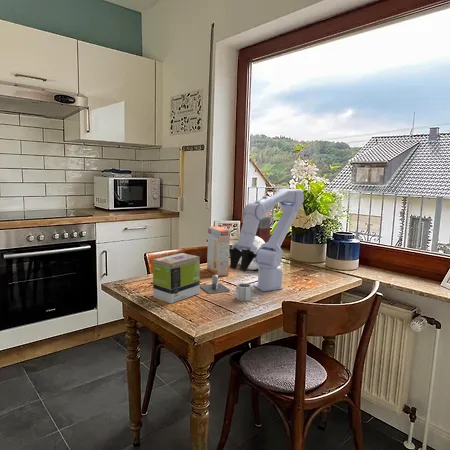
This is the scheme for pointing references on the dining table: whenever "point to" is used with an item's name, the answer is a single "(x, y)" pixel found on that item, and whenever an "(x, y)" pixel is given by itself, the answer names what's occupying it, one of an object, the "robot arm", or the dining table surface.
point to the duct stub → (214, 286)
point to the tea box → (176, 277)
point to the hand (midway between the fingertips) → (237, 269)
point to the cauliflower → (256, 243)
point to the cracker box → (218, 250)
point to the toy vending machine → (264, 228)
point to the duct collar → (244, 292)
